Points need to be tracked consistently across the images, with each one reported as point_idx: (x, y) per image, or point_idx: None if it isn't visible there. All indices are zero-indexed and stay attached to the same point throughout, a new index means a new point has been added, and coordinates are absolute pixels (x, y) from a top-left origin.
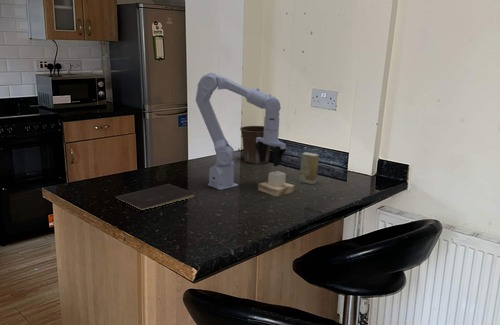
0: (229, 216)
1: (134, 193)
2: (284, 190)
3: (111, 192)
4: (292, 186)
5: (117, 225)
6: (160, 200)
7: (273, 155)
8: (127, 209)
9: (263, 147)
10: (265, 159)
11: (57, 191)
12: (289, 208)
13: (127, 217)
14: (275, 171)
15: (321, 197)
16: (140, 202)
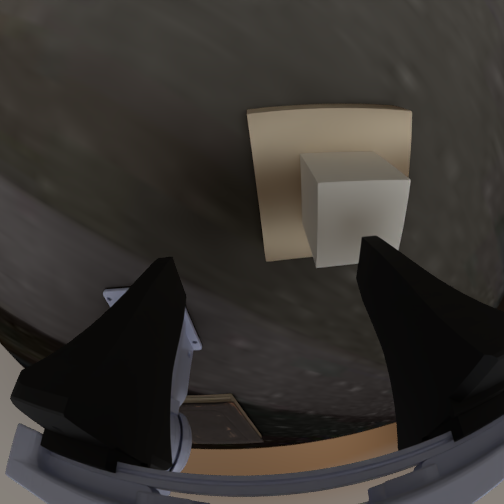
0: (378, 379)
1: None
2: None
3: None
4: (410, 131)
5: (287, 444)
6: (244, 431)
7: (391, 376)
8: None
9: (142, 416)
10: (167, 266)
11: None
12: (467, 264)
13: (269, 440)
14: (323, 208)
15: (493, 88)
16: (238, 440)
